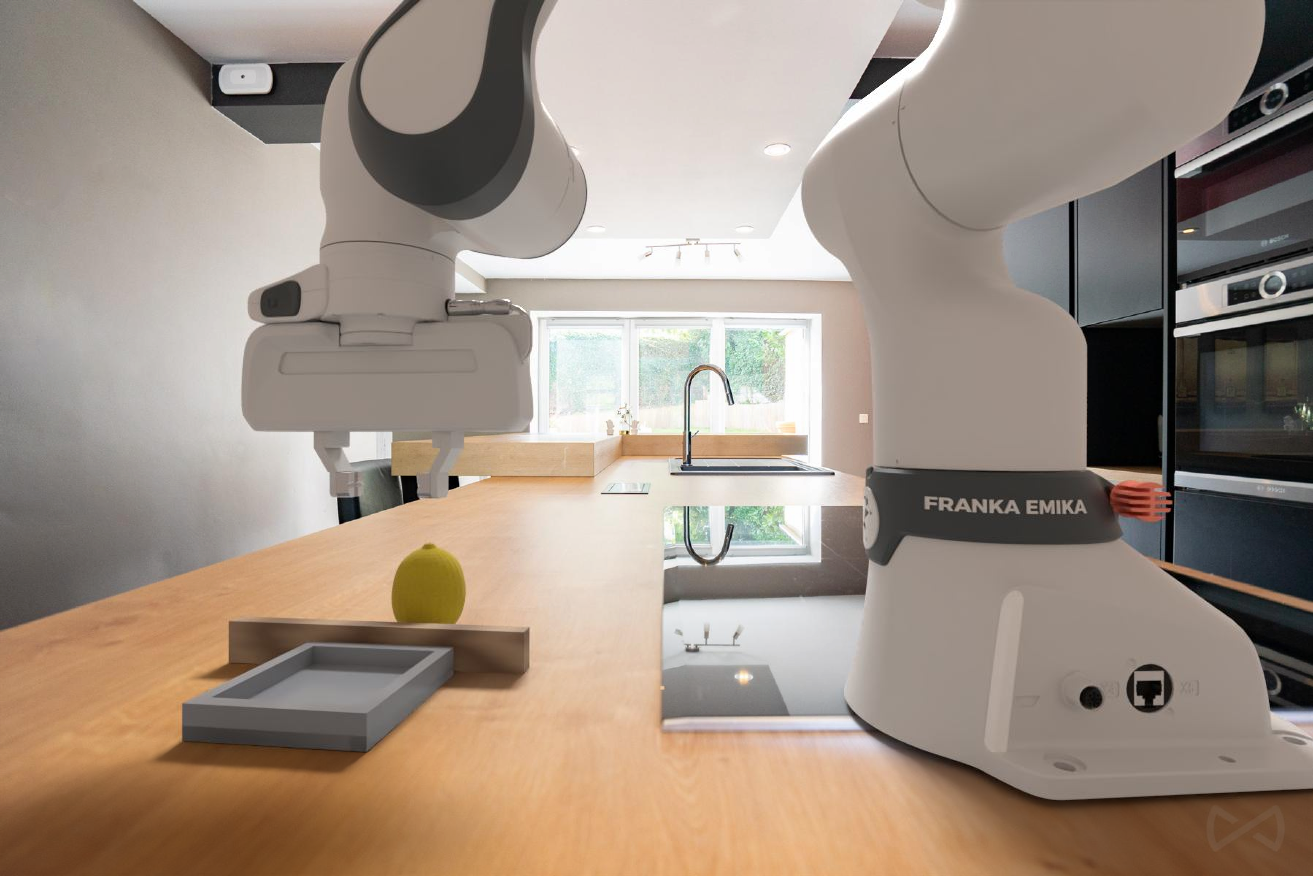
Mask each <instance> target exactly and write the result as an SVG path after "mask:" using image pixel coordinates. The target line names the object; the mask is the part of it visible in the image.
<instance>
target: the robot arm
mask: <svg viewBox="0 0 1313 876" xmlns="http://www.w3.org/2000/svg"><path fill="white" fill-rule="evenodd" d="M558 1H559V0H402V1H401V3H399V5H397V7H396V8H395V9H394V10H393V11H392V12H391V13H390V14H389V16H388V17H386V18H385V19H384V21H383V22H382V23H381V24H380V25H379V26H378V28H377V29H376V30H375V31H374V32H373V33H372V35H371V36H370V38H369V39H368V40H367V42H366V43H365V45H363V48H362V50H361V51H360V53H359V55H357V56H354V57H352V58H350V59H348V60H347V61H346V62H344V63H343V64H342V65H341V66H340V67H339V69H338V70H337V71H336V73H335V75H334V77H333V79H332V81H331V84H330V86H329V88H328V92H327V94H326V98H325V102H324V107H323V114H322V121H321V131H320V132H321V133H320V147H319V148H320V149H319V191H320V194H321V198H322V201H323V204H324V208H325V219H326V220H325V228H324V231H323V234H322V237H321V240H320V242H319V243H320V244H319V263H317V264H316V263H315V264H314V265H311V266H309V267H307V268H305V269H303V270H301V271H299V272H297V273H294V274H291V275H290V276H287V277H285V278H283V279H280V280H278V281H276V282H271V283H270V284H267V285H264V286H262V287H258V288H256V289H255V290H253V291H251V292H250V294H249V295H248V297H247V314H248V317H249V318H250V320H252V321H254V322H257V323H260V324H262V325H260V326H258V327H257V328H255V329H253V331H252V332H251V333H250V335H249V336H248V338H247V341H246V342H245V346H244V351H243V356H242V368H241V385H240V386H241V388H240V391H241V393H240V395H241V396H240V397H241V399H240V401H241V402H240V403H241V413H242V416H243V419H245V421H246V423H247V424H248V425H249V427H250V428H251V429H252V430H253V431H254V432H265V433H271V432H272V433H304V432H305V433H309V432H310V433H311V432H313V450H314V451H315V452H316V455H317V456H318V458H319V460H320V461H321V463H322V465H323V467H324V468H325V470H326V472H327V473H329V495H330V496H331V498H355V497H361V496H362V494H363V492H364V486H363V484H362V483H363V481H364V471H359V470H357V471H356V470H353V468H352V466H351V463H350V461H349V459H348V457H347V455H346V453H345V451H344V449H343V448H349V447H350V445H351V444H350V442H351V440H350V439H351V433H352V432H353V433H356V432H357V433H358V432H359V433H360V432H361V433H364V432H365V433H371V432H374V433H377V432H378V433H379V432H380V433H382V432H383V433H385V432H386V433H388V432H389V433H390V432H391V433H404V432H405V433H415V432H416V433H418V432H419V433H422V432H424V433H427V432H428V433H429V432H430V433H431V447H432V448H433V449H439V451H438V453H437V455H436V457H435V459H434V461H433V462H432V465H431V466H430V468H429V470H428V471H427V472H426V471H425V472H417V473H416V474H417V475H416V478H417V479H416V483H417V485H418V488H417V489H416V490H417V491H416V494H417V497H418V498H419V499H432V500H433V499H436V500H437V499H438V500H440V499H445V498H447V497H448V494H449V473H450V472H451V471H452V470H453V468H454V466H455V464H456V462H457V461H458V459H459V458H460V455H461V454H462V452H463V451H464V449H465V433H471V432H472V433H473V432H475V433H478V432H479V433H506V432H507V433H518V432H519V433H521V432H524V431H525V430H526V428H527V427H528V426H529V425H530V423H531V422H532V421H533V419H534V398H533V386H532V379H531V372H530V371H531V370H530V366H529V361H528V358H529V357H530V355H531V352H532V350H533V334H534V333H533V323H532V322H533V321H532V319H531V317H530V315H529V314H528V312H526V310H525V309H523V308H522V307H520V306H519V305H515V304H513V302H512V300H509V299H504V298H495V299H491V300H475V299H456V258H457V256H458V254H459V253H460V252H463V251H470V252H472V253H473V252H474V253H477V254H482V255H488V256H492V257H501V258H510V259H521V260H532V259H533V260H534V259H538V258H542V257H545V256H548V255H550V254H552V253H554V252H556V251H557V250H558V249H561V247H563V246H564V245H565V244H566V243H567V242H568V241H569V240H570V239H571V238H572V237H573V235H574V234H575V233H576V231H577V230H578V228H579V227H580V224H581V222H582V220H583V217H584V214H585V211H586V207H587V201H588V185H587V184H588V183H587V178H586V174H585V171H584V168H583V167H582V165H581V163H580V161H579V160H578V158H577V156H576V154H575V152H574V151H573V149H572V147H571V146H570V144H569V142H568V140H567V138H566V137H565V135H564V134H563V133H562V131H561V129H560V127H559V126H558V125H557V124H556V123H557V122H555V121H554V120H553V118H552V116H551V115H550V113H549V112H548V110H547V109H546V107H545V105H544V103H543V102H542V100H541V97H540V94H539V89H538V82H537V75H536V74H537V73H536V53H537V45H538V41H539V38H540V35H541V33H542V31H543V29H544V27H545V26H546V24H547V22H548V20H549V18H550V17H551V14H552V12H553V10H554V9H555V7H556V5H557V3H558ZM916 1H917V2H918V3H920V4H922V5H924V6H926V7H928V8H931V9H935V10H940V11H943V15H942V20H941V23H940V25H939V26H938V27H939V28H938V30H937V32H936V34H935V36H934V38H933V40H932V42H931V43H930V45H929V46H928V48H926V49H925V50H924V51H923V52H922V53H921V54H920V55H919V56H918V57H917V58H916V59H914V60H913V61H911V63H909V64H908V65H907V66H905V67H904V68H903V69H901V70H900V71H899V72H897V73H896V74H895V75H893V76H892V77H891V78H889V79H888V80H887V81H885V82H884V83H883V84H881V85H880V86H879V87H877V88H875V90H873V91H872V92H871V93H870V94H868V95H867V96H865V97H864V98H862V100H860V101H859V102H858V103H856V104H855V105H853V106H852V107H851V108H849V110H848V111H846V113H845V114H844V115H843V116H842V118H841V119H840V120H839V121H838V122H837V124H836V125H835V126H834V127H833V128H832V129H831V130H830V131H829V133H828V134H827V135H826V137H825V138H824V139H823V141H821V143H820V144H819V146H818V147H817V149H816V150H815V151H814V153H813V154H812V155H811V156H810V158H809V160H808V162H807V164H806V166H805V168H804V172H803V175H802V179H801V187H800V190H801V191H800V192H801V193H800V199H801V206H802V207H801V208H802V211H803V215H804V218H805V220H806V223H807V226H808V228H809V230H810V231H811V233H812V235H813V236H814V238H815V239H816V241H817V242H818V243H819V245H820V246H821V247H822V248H823V249H824V250H825V251H827V252H828V253H829V254H830V255H831V256H833V257H835V259H838V260H839V261H840V262H841V264H842V265H843V266H844V267H845V269H846V271H847V272H848V274H849V276H850V279H851V281H852V284H853V285H854V286H853V287H854V289H855V290H856V293H857V297H858V300H859V302H860V305H861V309H862V312H863V317H864V320H865V325H866V329H867V335H868V341H869V349H870V363H871V365H870V366H871V369H870V370H871V395H872V396H871V398H872V399H871V400H872V465H868V467H867V468H866V469H865V484H864V487H863V490H862V493H863V494H862V495H863V496H862V541H863V547H864V549H865V550H864V551H865V554H866V555H865V556H866V557H867V558H868V570H867V580H866V589H865V596H864V597H865V598H864V604H863V612H862V617H861V622H860V628H859V634H858V637H857V638H858V640H857V642H856V643H857V644H856V647H855V651H854V656H853V658H852V659H853V660H852V662H851V666H850V670H849V674H848V676H847V679H846V682H845V684H844V689H843V695H844V699H845V701H846V703H847V704H848V706H849V707H850V708H851V710H852V712H855V714H856V715H857V716H859V717H860V718H861V719H862V720H863V721H865V722H866V723H868V724H869V725H871V726H872V727H874V728H875V729H877V730H879V731H880V732H882V733H884V734H886V735H888V736H890V737H892V738H894V739H896V740H898V741H900V742H903V743H905V744H907V745H910V746H913V747H915V748H918V749H920V750H923V751H925V752H929V753H932V754H934V755H938V756H941V757H944V758H947V759H949V760H954V761H957V762H960V763H962V764H966V765H969V766H972V767H974V768H976V769H978V770H981V771H983V772H984V773H986V774H988V775H990V776H991V777H994V778H996V779H998V780H999V781H1001V782H1003V783H1006V784H1007V785H1010V786H1012V787H1013V788H1016V789H1018V790H1020V791H1022V792H1025V793H1027V794H1030V795H1031V796H1032V795H1033V796H1035V797H1038V798H1043V799H1047V800H1056V801H1066V800H1067V801H1070V800H1088V799H1089V800H1090V799H1091V800H1092V799H1115V798H1133V797H1134V798H1136V797H1155V796H1159V797H1160V796H1175V795H1176V796H1177V795H1197V794H1198V795H1199V794H1219V793H1220V794H1221V793H1222V794H1224V793H1239V792H1240V793H1241V792H1242V793H1243V792H1244V793H1245V792H1260V791H1261V792H1262V791H1263V792H1264V791H1282V790H1302V789H1303V790H1306V789H1307V790H1308V789H1313V736H1312V735H1310V734H1309V733H1307V732H1306V731H1305V730H1303V729H1301V728H1300V727H1298V726H1297V725H1295V724H1293V723H1292V722H1290V721H1289V720H1287V719H1285V718H1283V716H1282V717H1281V716H1280V715H1278V714H1276V713H1275V712H1273V711H1271V709H1270V708H1271V707H1270V702H1269V694H1268V688H1267V684H1266V679H1265V674H1264V671H1263V666H1262V664H1261V660H1260V657H1259V654H1258V652H1257V650H1256V647H1255V645H1254V643H1253V641H1252V640H1251V638H1250V637H1249V636H1248V635H1247V633H1246V632H1245V630H1244V629H1243V628H1242V627H1241V626H1240V625H1238V624H1237V623H1236V622H1235V621H1234V620H1233V619H1232V618H1230V617H1229V616H1227V615H1226V614H1225V613H1223V612H1222V611H1221V610H1219V609H1217V608H1216V607H1215V606H1213V605H1212V604H1211V603H1209V602H1207V601H1206V600H1205V599H1204V598H1203V597H1202V596H1199V595H1198V594H1197V593H1195V592H1194V591H1192V590H1191V589H1189V588H1188V587H1187V586H1186V585H1185V584H1183V583H1182V582H1180V581H1178V580H1177V579H1176V578H1175V577H1173V576H1172V575H1170V574H1169V573H1168V572H1166V571H1164V570H1163V569H1162V568H1160V567H1159V566H1158V565H1156V564H1155V563H1154V562H1153V561H1152V560H1150V559H1149V558H1147V557H1146V556H1145V555H1143V554H1141V553H1140V552H1139V551H1138V550H1136V549H1135V548H1134V547H1133V546H1131V545H1130V544H1128V543H1127V542H1125V541H1123V540H1122V539H1121V537H1123V536H1124V531H1123V529H1122V527H1121V525H1120V522H1119V518H1120V517H1119V516H1121V517H1123V518H1128V519H1137V520H1140V521H1142V522H1147V523H1154V522H1158V521H1159V522H1160V521H1162V520H1163V519H1165V518H1166V516H1165V515H1158V514H1155V513H1170V512H1171V509H1172V508H1170V507H1169V508H1168V507H1161V506H1156V505H1173V500H1168V499H1160V498H1156V497H1171V496H1172V495H1171V493H1170V492H1169V491H1168V492H1167V491H1158V490H1157V491H1156V490H1155V489H1166V487H1165V486H1164V485H1163V484H1160V483H1157V482H1153V481H1137V480H1131V479H1128V480H1123V481H1121V482H1119V483H1117V484H1114V483H1112V482H1111V481H1109V480H1108V479H1106V478H1105V477H1103V476H1101V475H1099V474H1097V473H1095V472H1093V471H1092V470H1090V469H1087V465H1088V464H1087V459H1088V458H1087V453H1088V452H1087V451H1088V450H1087V444H1088V443H1087V441H1088V439H1087V435H1088V433H1087V430H1088V429H1087V427H1088V424H1087V421H1088V420H1087V419H1088V418H1087V417H1088V415H1087V413H1088V411H1087V409H1088V403H1087V401H1088V399H1087V397H1088V394H1087V393H1088V344H1087V341H1086V337H1085V334H1084V333H1083V330H1082V328H1081V327H1080V325H1079V323H1078V322H1077V320H1075V319H1074V317H1073V316H1072V315H1071V314H1070V313H1069V312H1068V311H1067V310H1065V309H1064V308H1063V307H1061V306H1060V305H1059V304H1057V303H1056V302H1054V301H1052V300H1050V299H1048V298H1047V297H1044V296H1042V295H1039V294H1037V293H1034V292H1031V291H1028V290H1026V289H1023V288H1020V287H1017V285H1016V284H1015V282H1014V281H1013V278H1012V277H1011V274H1010V272H1009V269H1008V266H1007V263H1006V258H1005V254H1004V246H1003V242H1004V241H1003V240H1004V239H1003V238H1004V234H1005V230H1006V227H1007V225H1010V224H1011V223H1014V222H1017V221H1020V220H1023V219H1026V218H1029V217H1031V216H1034V215H1036V214H1039V213H1042V212H1045V211H1048V210H1051V209H1053V208H1056V207H1058V206H1062V205H1064V204H1066V203H1070V202H1073V201H1076V200H1079V199H1081V198H1084V197H1086V196H1090V195H1092V194H1095V193H1097V192H1100V191H1103V190H1105V189H1108V188H1111V187H1113V186H1116V185H1117V184H1119V183H1121V182H1123V181H1125V180H1126V179H1128V178H1130V177H1131V176H1132V177H1133V176H1134V175H1135V174H1137V173H1138V172H1140V171H1142V170H1145V169H1146V168H1148V167H1149V166H1151V165H1153V164H1155V163H1157V162H1158V161H1160V160H1162V159H1164V158H1165V157H1167V156H1169V155H1171V154H1172V153H1174V152H1175V151H1177V150H1178V149H1180V148H1182V147H1184V146H1186V145H1187V144H1189V143H1190V142H1192V141H1194V140H1195V139H1197V138H1199V137H1200V136H1202V135H1204V134H1206V133H1207V132H1209V131H1210V130H1213V129H1214V128H1215V127H1217V126H1218V125H1219V124H1221V122H1223V121H1224V120H1225V119H1226V117H1228V115H1229V114H1230V113H1231V112H1232V110H1233V109H1234V107H1235V105H1237V104H1236V103H1237V102H1238V100H1239V99H1240V98H1241V96H1242V94H1243V93H1244V91H1245V89H1246V87H1247V85H1248V83H1249V80H1250V78H1251V77H1252V74H1253V73H1254V70H1255V66H1256V64H1257V61H1258V58H1259V54H1260V52H1261V48H1262V45H1263V38H1264V33H1265V24H1266V23H1265V22H1266V1H1265V0H916ZM513 312H516V313H517V314H513Z"/></svg>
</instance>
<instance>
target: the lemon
mask: <svg viewBox="0 0 1313 876" xmlns="http://www.w3.org/2000/svg"><path fill="white" fill-rule="evenodd" d="M464 574H465V573H464V571H463V568H462V565H461V563H460V562H459V561H458V559H457V558H456V557H455V555H453V554H452V553H451V552H449V551H448V550H446V549H444V548H441V547H438V546H437V545H436V544H435V543H434V542H426V543H424V544H423V545H422V546H421V547H420V548H417V549H416V550H414V551H412V552H411V553H409V554H408V555H406V557H404V559H403V560H402V561H400V562H399V565H398V567H397V569H396V571H395V574H394V577H393V582H392V587H391V598H390V599H391V608H392V612H393V616H394V618H395V622H407V623H434V624H457V623H458V621H459V619H460V618H461V615H462V613H463V611H464V607H465V602H466V595H467V587H466V586H467V585H466V579H465V575H464Z"/></svg>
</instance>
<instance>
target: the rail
mask: <svg viewBox="0 0 1313 876" xmlns="http://www.w3.org/2000/svg"><path fill="white" fill-rule="evenodd" d="M530 631H531V629H530V626H510V625H509V626H507V625H485V624H484V625H483V624H458V623H456V624H434V623H407V622H397V621H380V620H378V621H376V620H374V621H372V620H354V619H353V620H351V619H349V620H348V619H324V618H323V619H321V618H319V619H318V618H295V617H272V616H271V617H270V616H267V617H266V616H265V617H264V616H246V615H245V616H243V615H241V616H238V617H236V618H234V619H231V620H229V621H228V663H232V664H250V665H251V664H253V665H255V664H256V665H262V664H264V663H266V662H268V661H270V660H272V659H274V658H277V657H279V656H281V655H283V654H285V653H287V652H289V651H291V650H293V649H295V648H297V647H299V646H301V645H303V644H305V643H307V642H309V641H316V642H340V643H364V644H389V645H413V646H437V647H454V656H453V672H469V673H472V672H473V673H496V674H499V673H500V674H525V673H526V672H527V671H528V669H530V637H531V635H530V633H531V632H530Z"/></svg>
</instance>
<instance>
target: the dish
mask: <svg viewBox="0 0 1313 876" xmlns="http://www.w3.org/2000/svg"><path fill="white" fill-rule="evenodd" d="M453 656H454V647H437V646H413V645H389V644H364V643H340V642H316V641H309V642H307V643H305V644H303V645H301V646H299V647H297V648H295V649H293V650H291V651H289V652H287V653H285V654H283V655H281V656H279V657H277V658H274V659H272V660H270V661H268V662H266V663H264V664H259V665H258V666H256V667H254V668H252V669H250V670H248V671H246V672H244V673H242V674H240V675H237V676H236V677H233V678H231V679H229V680H227V681H226V682H223V683H221V684H219V685H217V686H215V687H213V688H211V689H209V690H207V691H205V692H203V693H200V694H198V695H197V696H194V697H192V698H190V699H188V700H186V701H184V702H183V703H181V718H182V719H181V741H183V742H196V743H197V742H199V743H213V744H214V743H216V744H231V745H247V746H265V747H277V748H279V747H281V748H297V749H314V750H328V751H330V750H331V751H344V752H345V751H346V752H347V751H348V752H361V753H367V752H368V751H369V750H371V749H372V748H373V747H374V746H375V745H377V743H378V742H380V741H381V740H382V739H383V738H385V737H386V736H387V735H388V734H389V733H390V732H391V731H393V730H394V729H395V728H396V727H397V726H398V725H399V724H401V723H402V722H403V721H404V720H405V719H406V718H408V717H409V716H410V715H411V714H412V713H414V711H415V710H417V709H418V708H419V707H420V706H421V705H422V704H423V703H424V702H425V701H426V700H427V699H428V698H430V697H431V696H432V695H433V694H434V693H436V692H437V690H439V688H441V686H443V685H444V684H445V683H446V682H447V681H448V680H449V679H451V678H452V677H453V676H454V671H453Z"/></svg>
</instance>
